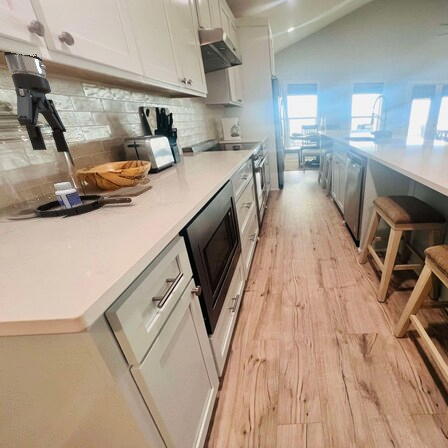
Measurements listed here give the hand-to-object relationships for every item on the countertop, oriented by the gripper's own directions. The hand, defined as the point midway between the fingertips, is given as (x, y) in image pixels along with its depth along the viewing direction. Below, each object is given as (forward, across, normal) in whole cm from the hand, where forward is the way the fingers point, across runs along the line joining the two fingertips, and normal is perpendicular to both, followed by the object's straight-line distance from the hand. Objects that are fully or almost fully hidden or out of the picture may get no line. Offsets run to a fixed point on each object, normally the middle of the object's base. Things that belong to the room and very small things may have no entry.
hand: (52, 151), depth 77 cm
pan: (+19, -4, -7) cm, 20 cm away
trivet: (+16, +12, -15) cm, 25 cm away
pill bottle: (+19, -2, -2) cm, 19 cm away
